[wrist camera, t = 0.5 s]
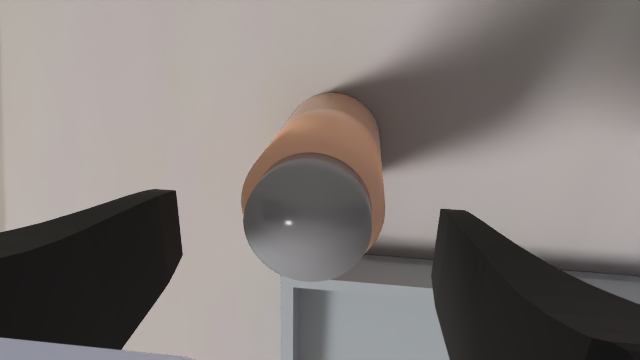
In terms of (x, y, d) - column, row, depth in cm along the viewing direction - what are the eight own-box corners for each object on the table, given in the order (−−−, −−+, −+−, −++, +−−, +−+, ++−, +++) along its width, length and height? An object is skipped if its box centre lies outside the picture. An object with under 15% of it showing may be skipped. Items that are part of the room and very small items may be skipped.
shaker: (383, 95, 19) (393, 156, 11) (375, 186, 21) (380, 299, 12) (285, 90, 19) (225, 147, 11) (286, 180, 21) (233, 286, 13)
